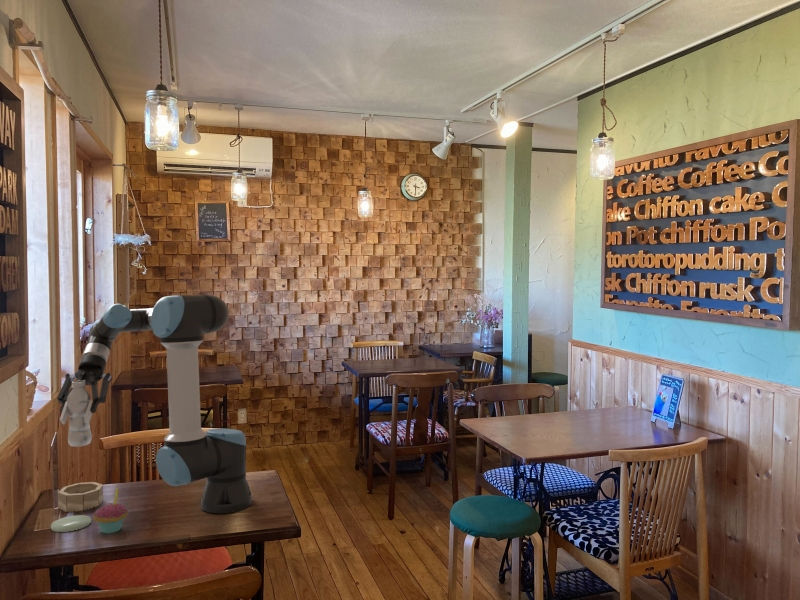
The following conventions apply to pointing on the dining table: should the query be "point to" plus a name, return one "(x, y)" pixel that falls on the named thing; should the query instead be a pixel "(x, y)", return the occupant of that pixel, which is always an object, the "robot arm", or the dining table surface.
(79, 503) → the birch collar
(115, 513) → the cupcake
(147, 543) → the dining table surface
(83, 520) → the sage coaster
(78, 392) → the plastic bottle
